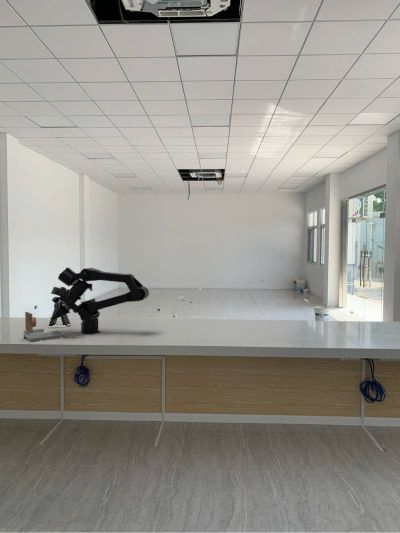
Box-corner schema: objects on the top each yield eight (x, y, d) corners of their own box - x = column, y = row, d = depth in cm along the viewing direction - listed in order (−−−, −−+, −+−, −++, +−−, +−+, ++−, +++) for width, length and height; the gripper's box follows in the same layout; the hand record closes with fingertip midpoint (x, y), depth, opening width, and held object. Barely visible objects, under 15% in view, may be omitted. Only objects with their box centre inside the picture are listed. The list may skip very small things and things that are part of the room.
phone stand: (70, 325, 195) (70, 300, 195) (67, 327, 189) (66, 302, 189) (52, 325, 195) (51, 301, 194) (48, 327, 189) (47, 302, 188)
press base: (57, 333, 176) (57, 326, 176) (65, 337, 167) (65, 330, 167) (23, 337, 168) (23, 330, 168) (30, 342, 159) (30, 334, 159)
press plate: (32, 328, 168) (32, 311, 168) (37, 331, 162) (37, 313, 162) (25, 329, 167) (25, 311, 166) (30, 332, 160) (30, 314, 160)
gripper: (55, 278, 179) (30, 305, 172) (71, 281, 164) (44, 310, 158) (73, 294, 184) (49, 321, 177) (89, 298, 169) (64, 327, 163)
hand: (51, 319), depth 169 cm, fingers closed
